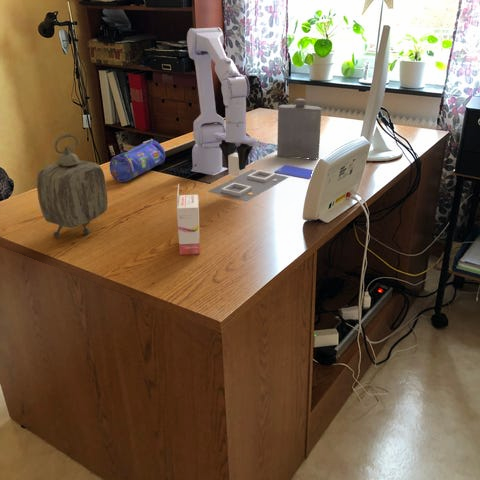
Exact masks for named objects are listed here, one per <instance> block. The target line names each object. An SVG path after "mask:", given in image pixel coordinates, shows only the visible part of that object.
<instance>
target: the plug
mask: <svg viewBox="0 0 480 480" xmlns="http://www.w3.org/2000/svg"><path fill="white" fill-rule="evenodd" d="M227 168H228V169H227V170H228V175H234V176H236V177H238V176H240V175H242V174H244V173H246V172H247V171H246V168H247V167H246V166H245V169H243V170H240V169H239V158H238V153H237V151H236V152H235V151H234V153H233V154H231V155H228V166H227Z"/></svg>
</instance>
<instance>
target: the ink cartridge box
mask: <svg viewBox="0 0 480 480" xmlns="http://www.w3.org/2000/svg"><path fill="white" fill-rule="evenodd" d="M179 190H180V183H178V184H177V192H176V193H177V194H176V219H177V234H178V246H179V247H178V249H179V255H181V256H183V255H200V254H201V253H200V206H199V205H200V203H199V202H200V201H199V194H181V195H180V194H179Z"/></svg>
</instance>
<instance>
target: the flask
mask: <svg viewBox="0 0 480 480" xmlns="http://www.w3.org/2000/svg"><path fill="white" fill-rule="evenodd" d="M306 102H307V101H306V99H304V98H296V99H295V100H294V104H280V105H278V107H277V138H276V139H277V148H276V149H277V150H276V152H277V153H276V156H278V157H279V158H291V157H301V158H300V159H303V158H309V159H315V160H317V159H316V158H318V159H319V157H320V140H321V123H322V107H320V106H316V105H306ZM309 159H308V160H309Z"/></svg>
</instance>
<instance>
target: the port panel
mask: <svg viewBox="0 0 480 480" xmlns="http://www.w3.org/2000/svg"><path fill="white" fill-rule="evenodd" d="M289 177H290V176H286V175H282V174H277V173H274V172H269V171H266V170H260V169H258V170H257V169H250V170H248V171H246V173H244V174H242V175H240V176H236V177H233V178H232V179H231V178H230V180H227V181H226V182H224V183H222V184H219V185H217V186H216V187H214V188H211V189H210V190H208V191H207V192H208V193H212V194H217V195H221V196H224V197H228V198H231V199H232V198H233V199H236V200H241V201H244V202H248V201H250V200H252V199H254V198H255V197H257V196H259V195H260V194H262V193H264V192H265V191H268V190H269V189H271V188H273V187H274V186H276V185H278V184H281V182H284V181H285V180H287V179H289Z"/></svg>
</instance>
